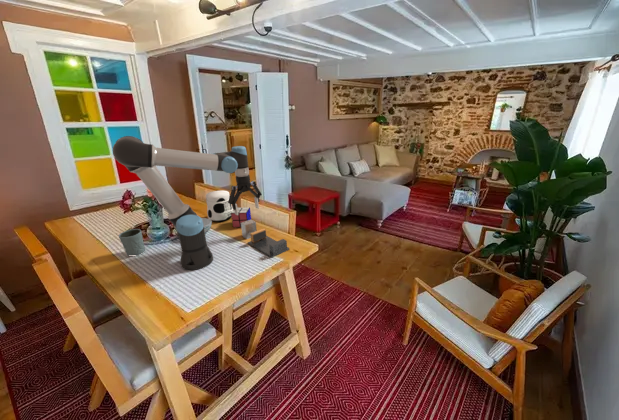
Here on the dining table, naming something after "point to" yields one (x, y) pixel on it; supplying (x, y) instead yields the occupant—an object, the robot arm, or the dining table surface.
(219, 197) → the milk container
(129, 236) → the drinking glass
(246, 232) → the steel block
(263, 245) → the vise
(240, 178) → the robot arm
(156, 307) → the dining table surface
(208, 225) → the chinaware
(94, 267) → the dining table surface
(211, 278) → the dining table surface
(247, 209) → the puzzle cube
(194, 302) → the dining table surface
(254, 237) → the block
